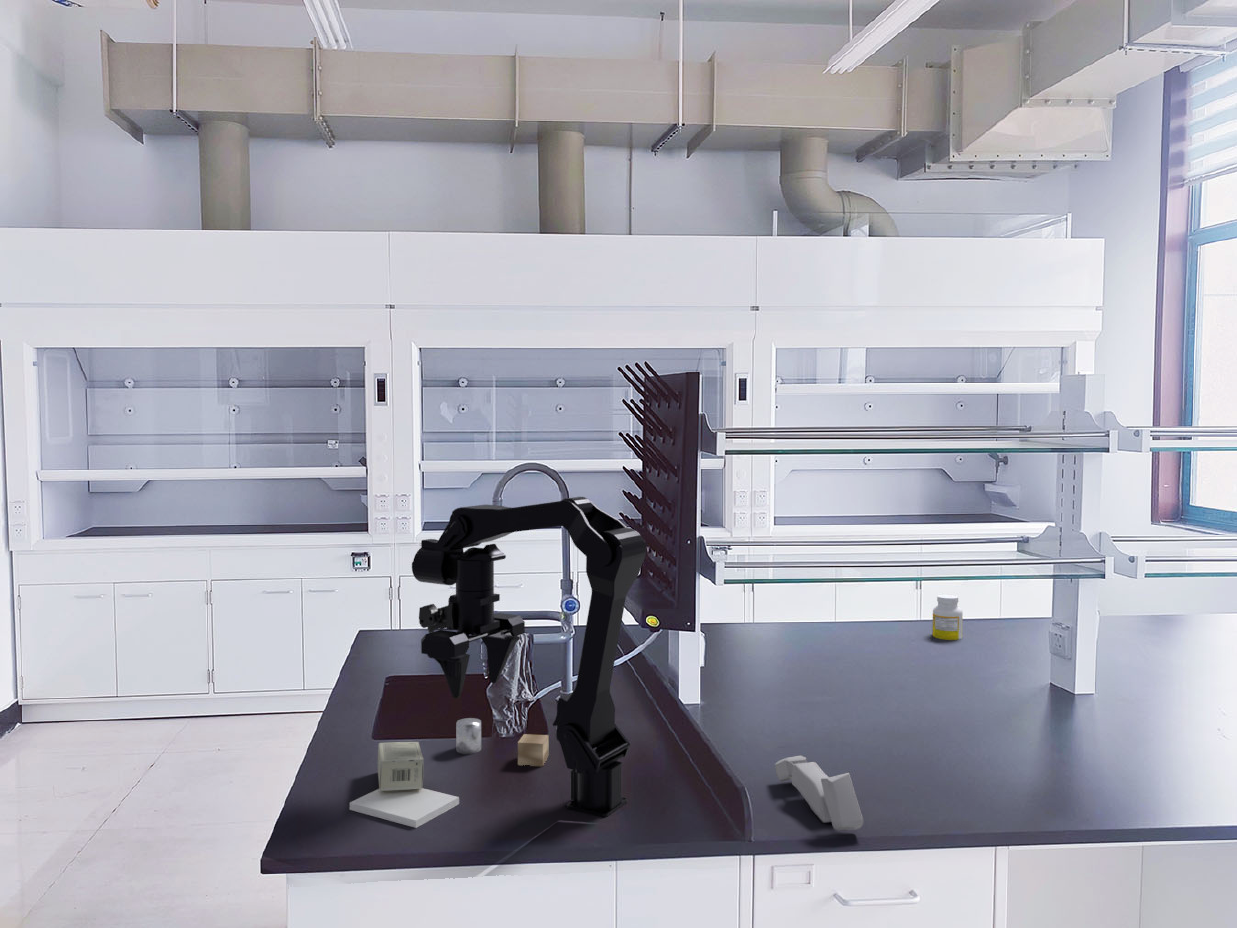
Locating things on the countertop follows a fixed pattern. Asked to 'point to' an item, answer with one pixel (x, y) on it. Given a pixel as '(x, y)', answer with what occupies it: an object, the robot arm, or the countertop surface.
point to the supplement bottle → (947, 618)
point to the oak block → (533, 750)
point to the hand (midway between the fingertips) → (475, 690)
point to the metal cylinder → (468, 735)
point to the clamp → (823, 792)
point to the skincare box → (400, 766)
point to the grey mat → (405, 805)
